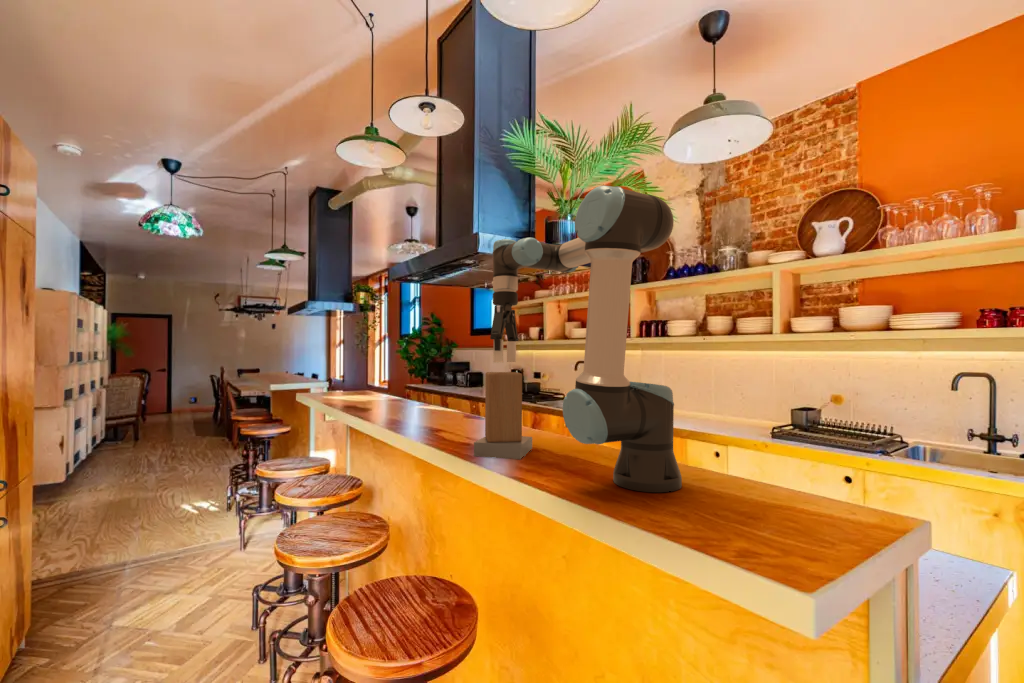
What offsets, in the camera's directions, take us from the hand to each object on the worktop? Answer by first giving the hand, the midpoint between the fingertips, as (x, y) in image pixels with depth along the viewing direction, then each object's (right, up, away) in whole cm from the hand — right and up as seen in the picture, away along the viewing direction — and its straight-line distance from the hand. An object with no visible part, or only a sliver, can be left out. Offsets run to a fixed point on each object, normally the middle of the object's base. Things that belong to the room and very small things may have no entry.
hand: (505, 362), depth 140 cm
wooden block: (-1, -23, 0) cm, 23 cm away
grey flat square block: (0, -27, 0) cm, 27 cm away
